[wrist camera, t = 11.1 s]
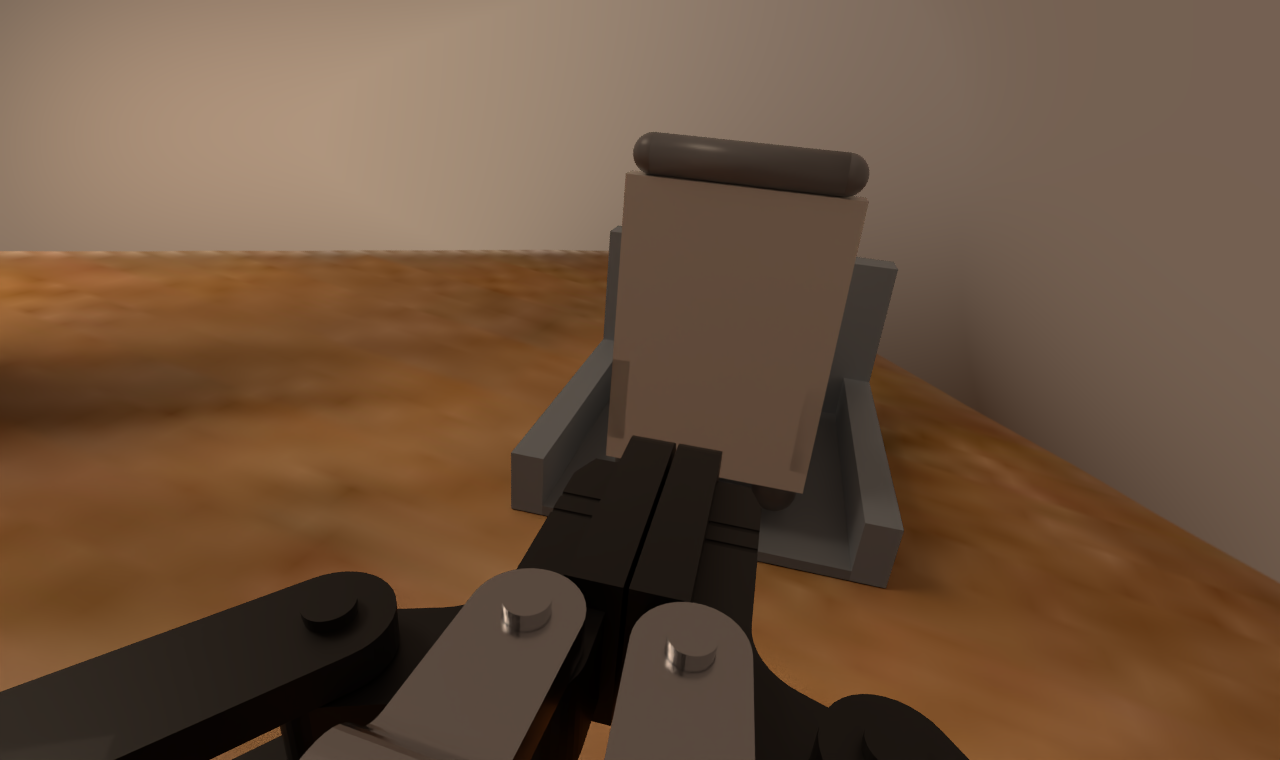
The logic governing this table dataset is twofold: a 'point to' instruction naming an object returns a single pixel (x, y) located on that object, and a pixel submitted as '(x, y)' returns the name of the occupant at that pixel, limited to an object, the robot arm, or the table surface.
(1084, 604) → the table surface
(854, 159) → the toy cart
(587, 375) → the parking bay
